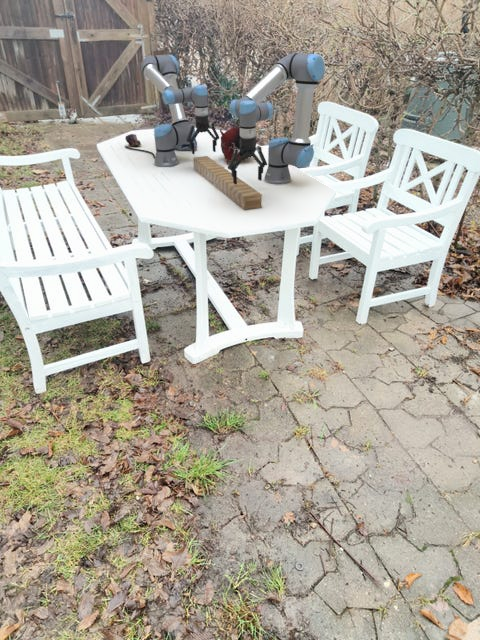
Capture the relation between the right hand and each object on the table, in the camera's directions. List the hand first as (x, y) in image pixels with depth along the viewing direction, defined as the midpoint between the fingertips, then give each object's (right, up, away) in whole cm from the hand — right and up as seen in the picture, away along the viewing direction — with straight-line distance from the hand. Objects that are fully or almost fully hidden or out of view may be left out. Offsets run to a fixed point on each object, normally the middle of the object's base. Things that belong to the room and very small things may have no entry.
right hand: (247, 181), depth 225 cm
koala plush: (-44, +56, +102) cm, 124 cm away
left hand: (-26, +33, +50) cm, 65 cm away
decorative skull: (-5, +39, +77) cm, 86 cm away
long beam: (-13, +7, +31) cm, 35 cm away
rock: (-83, +60, +109) cm, 150 cm away
